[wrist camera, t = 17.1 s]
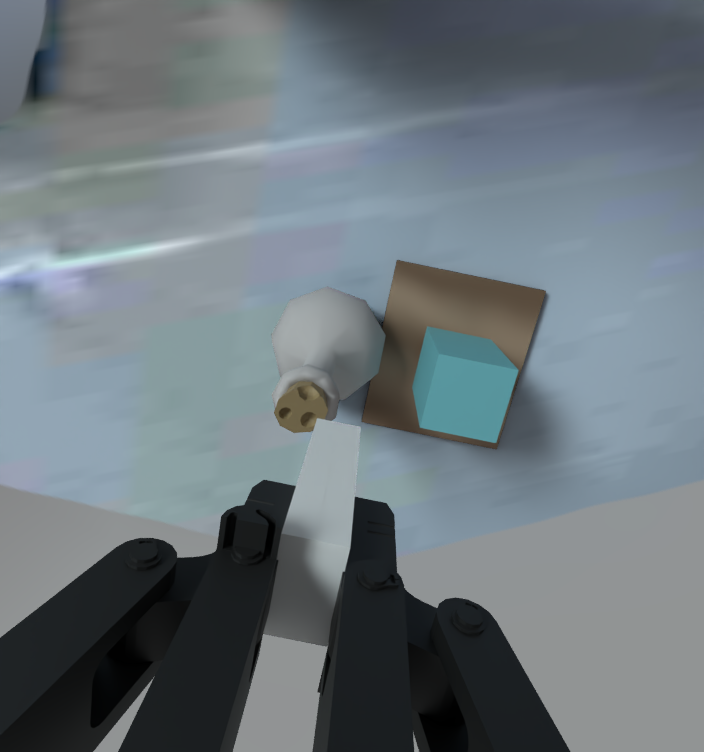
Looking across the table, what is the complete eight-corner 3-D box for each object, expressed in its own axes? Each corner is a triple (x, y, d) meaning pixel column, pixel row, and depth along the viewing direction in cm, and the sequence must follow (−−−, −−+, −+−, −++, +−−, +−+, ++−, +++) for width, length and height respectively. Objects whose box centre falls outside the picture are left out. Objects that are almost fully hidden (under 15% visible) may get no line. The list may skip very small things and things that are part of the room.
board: (397, 259, 41) (397, 260, 41) (543, 290, 41) (545, 291, 41) (361, 419, 45) (361, 421, 45) (495, 446, 45) (496, 449, 45)
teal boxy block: (427, 326, 41) (438, 353, 33) (490, 339, 41) (518, 370, 33) (412, 386, 43) (419, 427, 34) (473, 399, 43) (496, 443, 34)
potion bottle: (297, 268, 42) (240, 305, 25) (400, 306, 42) (413, 367, 25) (266, 365, 44) (194, 460, 27) (363, 400, 45) (352, 514, 28)
